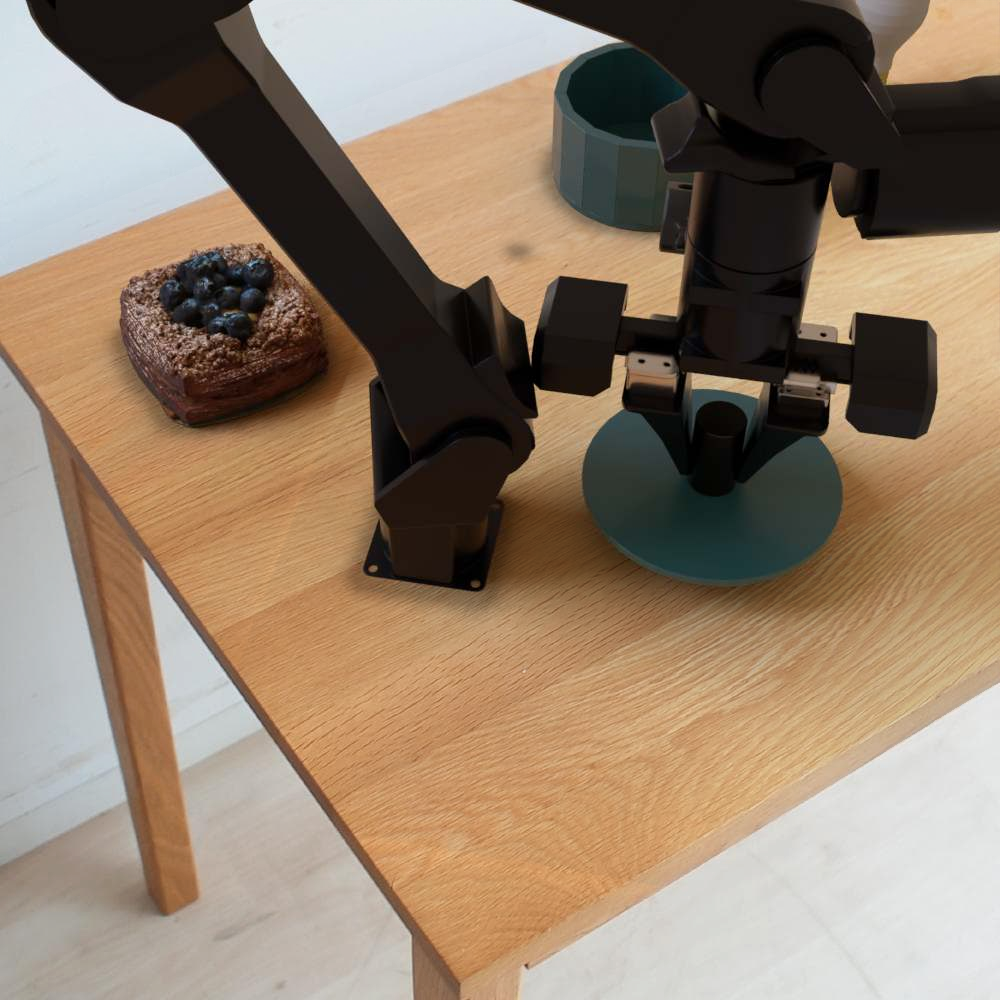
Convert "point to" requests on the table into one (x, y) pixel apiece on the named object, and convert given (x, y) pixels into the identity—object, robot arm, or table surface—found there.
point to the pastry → (222, 334)
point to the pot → (613, 136)
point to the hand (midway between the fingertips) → (713, 473)
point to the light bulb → (891, 27)
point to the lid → (710, 497)
